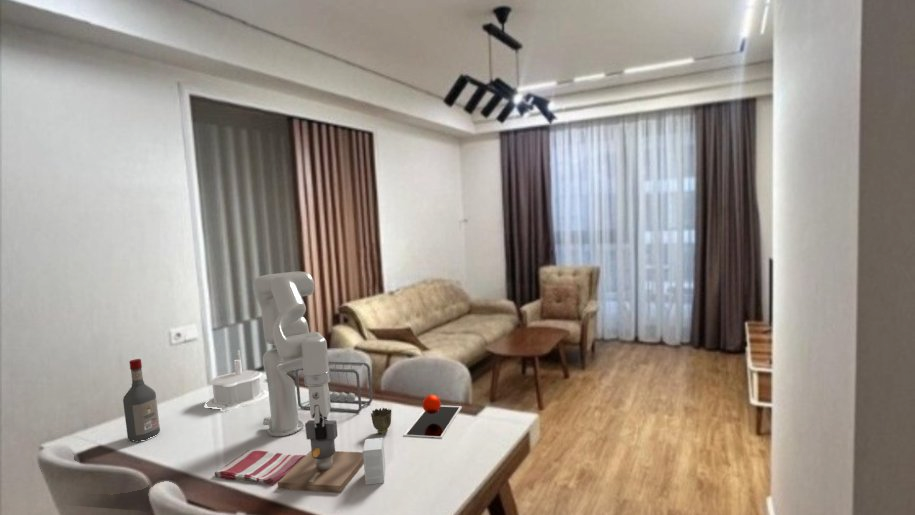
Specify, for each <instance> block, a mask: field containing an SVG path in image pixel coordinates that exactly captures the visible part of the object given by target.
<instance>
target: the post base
mask: <svg viewBox="0 0 915 515" xmlns="http://www.w3.org/2000/svg"><path fill="white" fill-rule="evenodd" d="M305 455H306V456H305V457H304V458H303V459H302V460H300V461H299V462H298V463H297V464H296V465H295V466H294V467H293V468H292V469H291V470H290V471H289V472H288V473H287V474H286V475H285V476H284V477H283V478H282V479H281V480H280V481H278V482H277V487H278V488H277V489H279V490H297V491H310V492H328V493H342V492H343V491H344V490H345V488H346V487H348V485H349V483H350V482H351V481H352V479H353V478H354V477H355V475H356V474H357V473H358V472H359V470H360V469H361V468H362V467H363V466H364V460H363V451H362V452H361V451H339V450H338V451H337V450H335V453H334V454H333V455H332V456H330V457H327V458H323V459H316V458H313V457H312V451H311V450H309V452H308V453H307V454H305Z"/></svg>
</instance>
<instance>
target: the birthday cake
mask: <svg viewBox="0 0 915 515" xmlns="http://www.w3.org/2000/svg"><path fill="white" fill-rule="evenodd" d="M237 358H238V359H234V362H233V363H234V372H230V373H225V374H224V373H223V374H221V375H217V376H216V377H213V378H211V380H209V381H208V384H209V385H212V392H213V397H211V398H209V399H208V400H209V401H208V400H207V401H208V402H207V403H206V404H207V406H208V407H217V408H222V410H225V411H229V410H234V409H237V408H238V407H240V406H243V405H247V404H251V403H253V402H257V401H261V400H263V399H264V398H266V397H268V395H269V392H268V390H265V389H263V390H262V389H261V382H260V381H261V380H260V378H261V377H262V376H263V373H262V372H260V371H256V370H255V371H254V370H247V369H243V368H242V359H241V350H237Z"/></svg>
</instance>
